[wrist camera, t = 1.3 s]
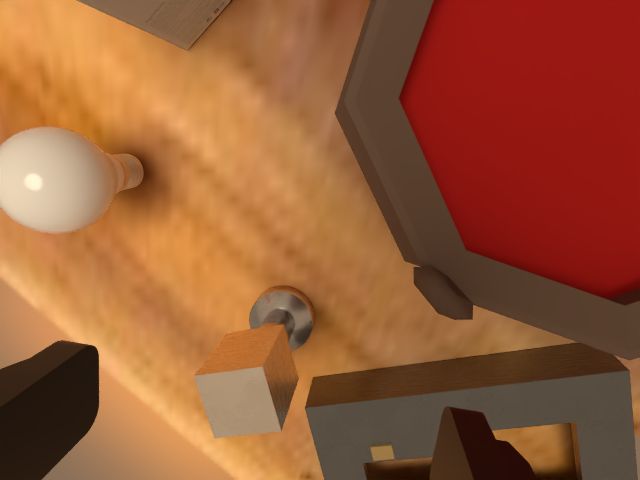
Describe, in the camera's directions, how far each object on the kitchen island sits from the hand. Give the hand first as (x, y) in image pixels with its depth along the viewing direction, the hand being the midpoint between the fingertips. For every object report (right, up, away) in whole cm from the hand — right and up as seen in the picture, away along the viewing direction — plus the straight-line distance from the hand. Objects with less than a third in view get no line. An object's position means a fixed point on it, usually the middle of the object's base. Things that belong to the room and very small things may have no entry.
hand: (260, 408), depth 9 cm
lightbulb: (-13, +9, +23) cm, 28 cm away
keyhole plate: (+13, -12, +24) cm, 30 cm away
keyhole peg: (-2, -2, +24) cm, 24 cm away
